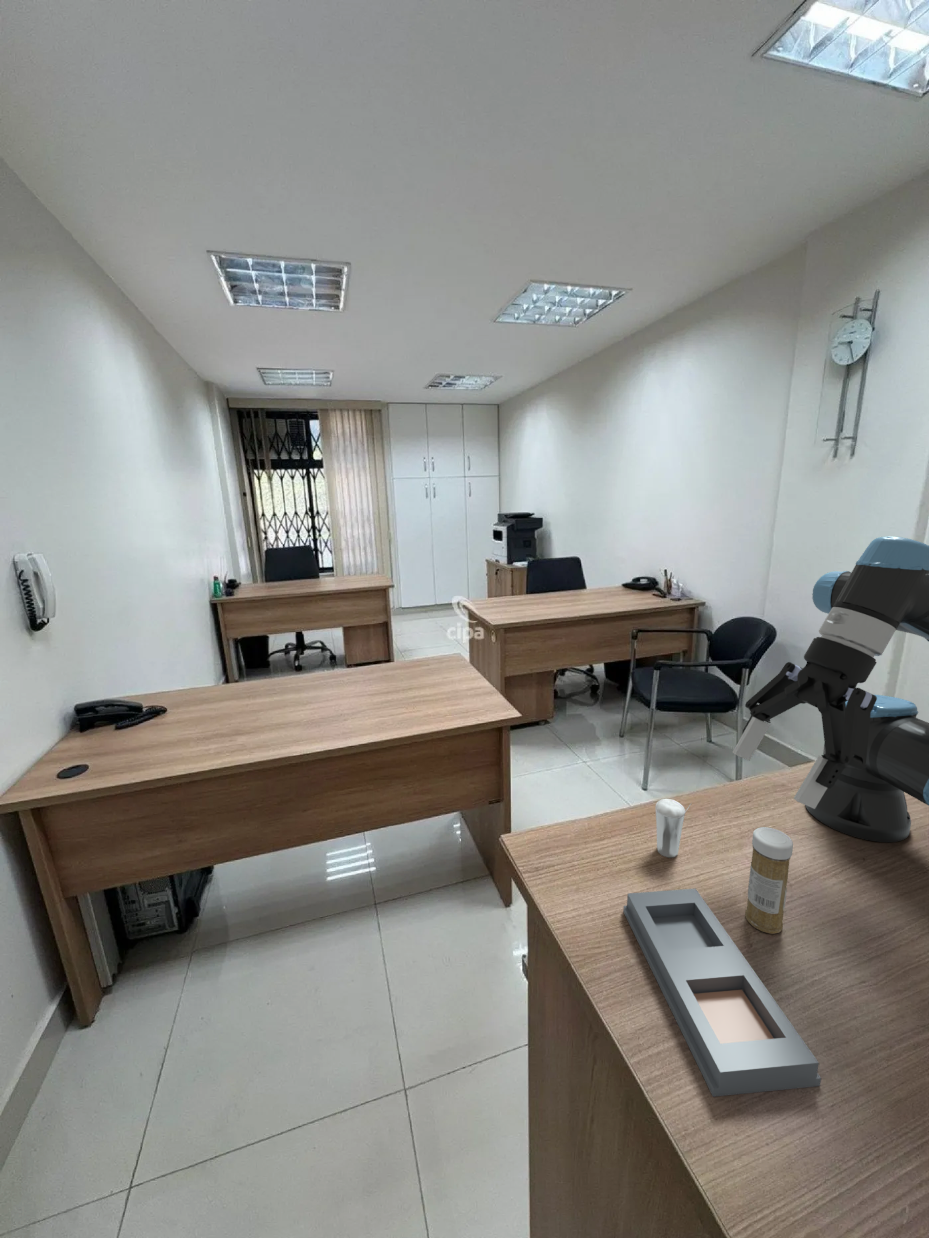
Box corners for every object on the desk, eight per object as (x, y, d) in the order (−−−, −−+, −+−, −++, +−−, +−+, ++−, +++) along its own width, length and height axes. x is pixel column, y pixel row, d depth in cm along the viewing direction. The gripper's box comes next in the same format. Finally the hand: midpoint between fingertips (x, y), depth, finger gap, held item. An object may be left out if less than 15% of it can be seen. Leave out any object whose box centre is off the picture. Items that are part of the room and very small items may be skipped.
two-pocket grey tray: (697, 906, 71) (698, 888, 71) (819, 1085, 49) (823, 1062, 48) (623, 911, 71) (624, 893, 70) (712, 1096, 48) (715, 1072, 48)
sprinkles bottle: (788, 924, 68) (800, 838, 65) (772, 941, 65) (783, 852, 62) (754, 903, 71) (763, 821, 69) (737, 918, 69) (746, 833, 66)
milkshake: (684, 866, 79) (689, 810, 77) (650, 854, 82) (653, 800, 80) (689, 849, 83) (693, 796, 81) (655, 839, 86) (659, 787, 84)
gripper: (764, 619, 79) (701, 733, 82) (910, 658, 55) (812, 818, 58) (803, 638, 80) (739, 749, 83) (962, 684, 56) (864, 840, 59)
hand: (769, 778), depth 71 cm, fingers open, 13 cm apart
